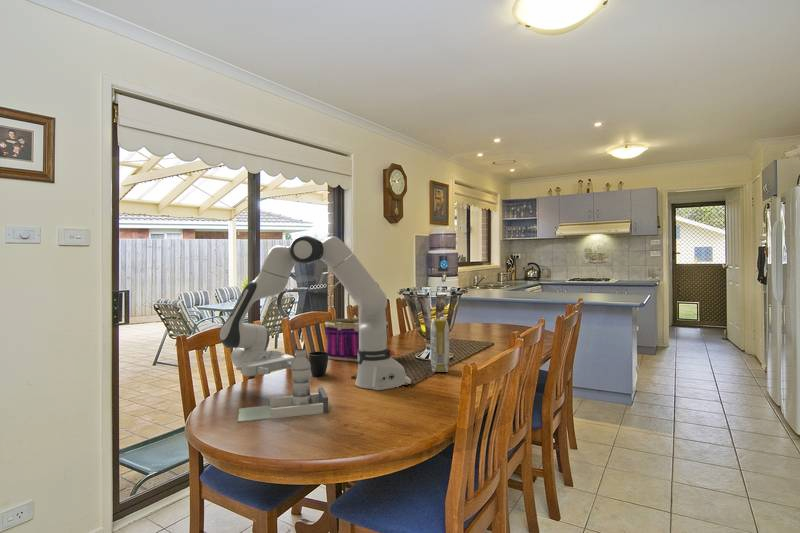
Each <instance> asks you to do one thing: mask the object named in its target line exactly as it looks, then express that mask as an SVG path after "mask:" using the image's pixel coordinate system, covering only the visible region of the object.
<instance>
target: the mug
mask: <svg viewBox="0 0 800 533" xmlns="http://www.w3.org/2000/svg"><path fill="white" fill-rule="evenodd" d="M308 360H309V362H310V364H311V368H310V374H311V376H312V377H314V378H320V377H324V376H326V372H327V369H328V364H329V359H328V352H327V351H323V350H322V351H320V350H319V351H311V352H309V353H308Z"/></svg>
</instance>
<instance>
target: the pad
mask: <svg viewBox="0 0 800 533" xmlns="http://www.w3.org/2000/svg"><path fill="white" fill-rule="evenodd" d="M271 408H272V407H270V404H269V405H262V406H261V405H260V406H250V407H243V408H242V407H241V408H239V410H238V417H237V418H238V419H237V423H244V422H245V423H246V422H252V421H261V420H270V419H271Z"/></svg>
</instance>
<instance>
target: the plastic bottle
mask: <svg viewBox="0 0 800 533" xmlns="http://www.w3.org/2000/svg"><path fill="white" fill-rule="evenodd" d="M307 355H308V353H307V349H306V348H297V349H295V350H294V357H295V359H294V360H293V362H292V364H291V369H290V370H291V371H290V372H291V375H292V376H291V377H292V394H291V396H292V405H291V406H297V405H307V404H313V403H312V399H311V394H312V393H311V389H310V388H311V386H310V378H311V376H310V375H311V370H310V368H311V364H310V362H309V358H307Z"/></svg>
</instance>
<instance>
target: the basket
mask: <svg viewBox="0 0 800 533" xmlns="http://www.w3.org/2000/svg"><path fill="white" fill-rule="evenodd" d="M339 284H341V282H340V281H339V280H338V281H337V282H336V283H335V284H334V285H333V286H332V288H331V290H330V294H329V307H330V312H331V317H332V319H330V320H327V321H325V322H324V328H325V332H326V343H327V344H326V352H328V360H332V361H333V360H335V361H346V362H355V363H358V349H359V316H358V317H356V316H355V317H353V316H352V312H351V306H350V305H351V304H350V294H349V293H348V292H347V309H348V314H349V317H350V318H336V317H335V313H334V310H333V304H332V296H333V292H334V290H335V288H336V287H337V286H338V285H339ZM378 286H379V287H380V285H379V284H378ZM388 325H389V322H388V321H386V335H387V333H388V327H389V326H388Z"/></svg>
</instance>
